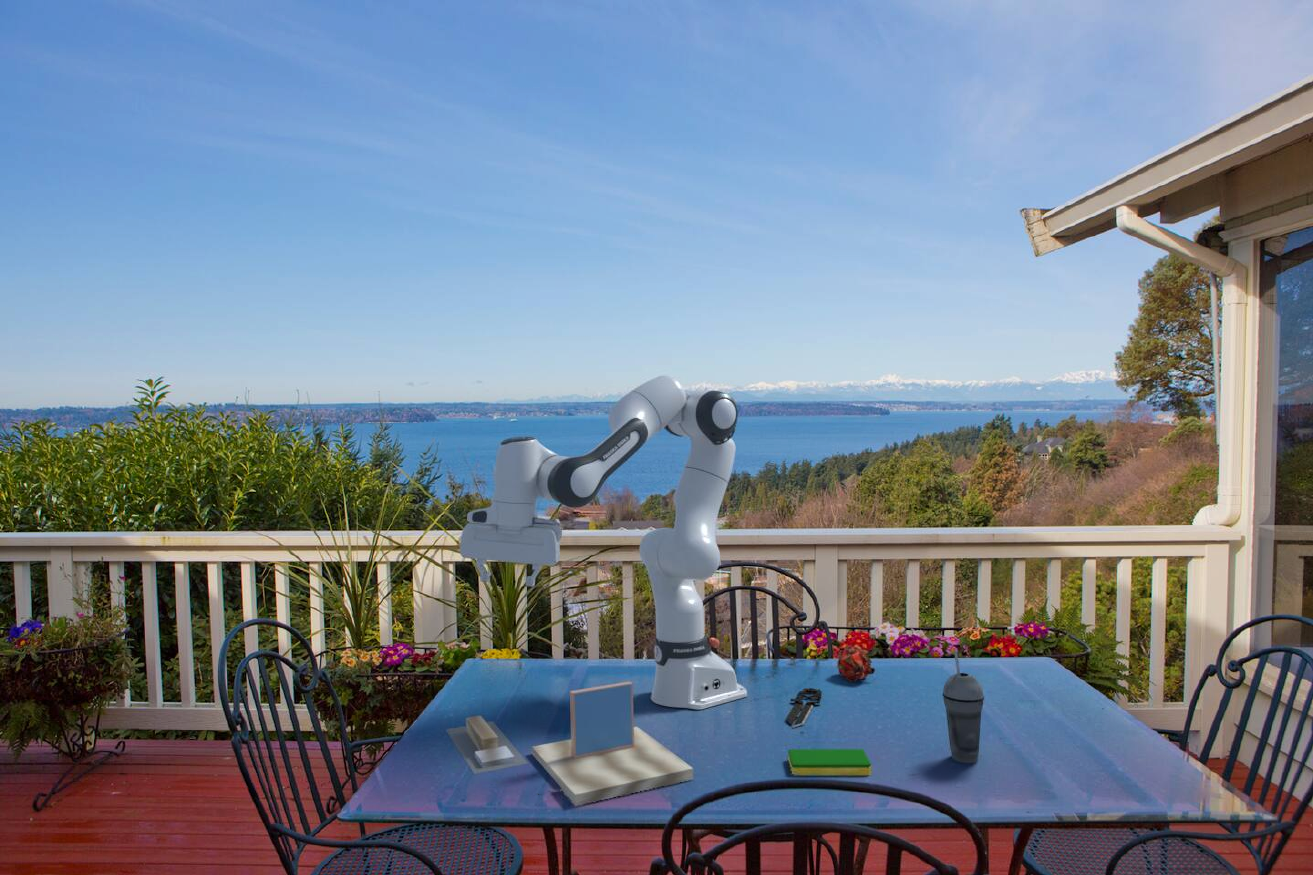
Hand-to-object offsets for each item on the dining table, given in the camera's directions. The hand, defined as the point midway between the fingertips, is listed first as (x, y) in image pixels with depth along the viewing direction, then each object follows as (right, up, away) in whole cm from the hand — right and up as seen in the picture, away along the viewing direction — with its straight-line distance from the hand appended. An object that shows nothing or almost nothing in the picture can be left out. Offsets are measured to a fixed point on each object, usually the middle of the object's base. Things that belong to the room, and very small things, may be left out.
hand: (507, 583), depth 165 cm
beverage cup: (+87, -30, -16) cm, 93 cm away
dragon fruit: (+79, -30, +35) cm, 92 cm away
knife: (+63, -31, +14) cm, 71 cm away
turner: (-3, -31, -6) cm, 32 cm away
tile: (+20, -29, -14) cm, 38 cm away
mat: (-4, -32, -5) cm, 32 cm away
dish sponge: (+61, -31, -18) cm, 71 cm away
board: (+22, -31, -16) cm, 41 cm away
